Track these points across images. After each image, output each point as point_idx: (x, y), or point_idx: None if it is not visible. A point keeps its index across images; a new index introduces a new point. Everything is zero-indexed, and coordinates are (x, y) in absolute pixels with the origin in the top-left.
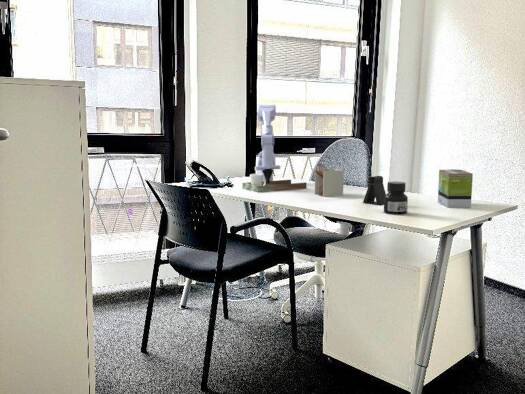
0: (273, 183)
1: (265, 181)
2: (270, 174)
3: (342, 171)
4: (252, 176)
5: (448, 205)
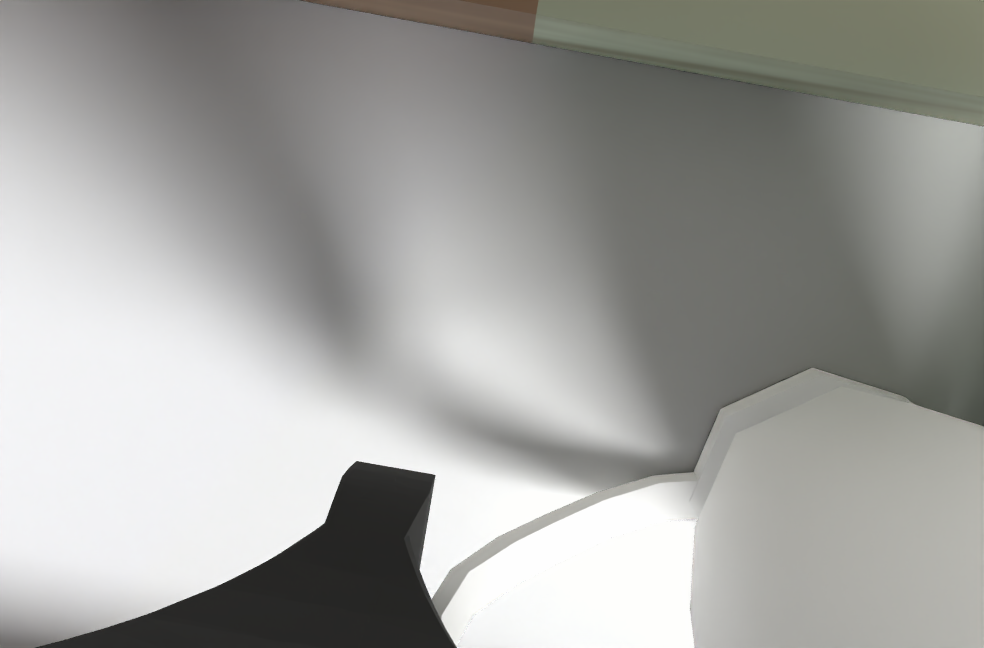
0: None
1: None
2: (243, 632)
3: None
4: None
5: None
